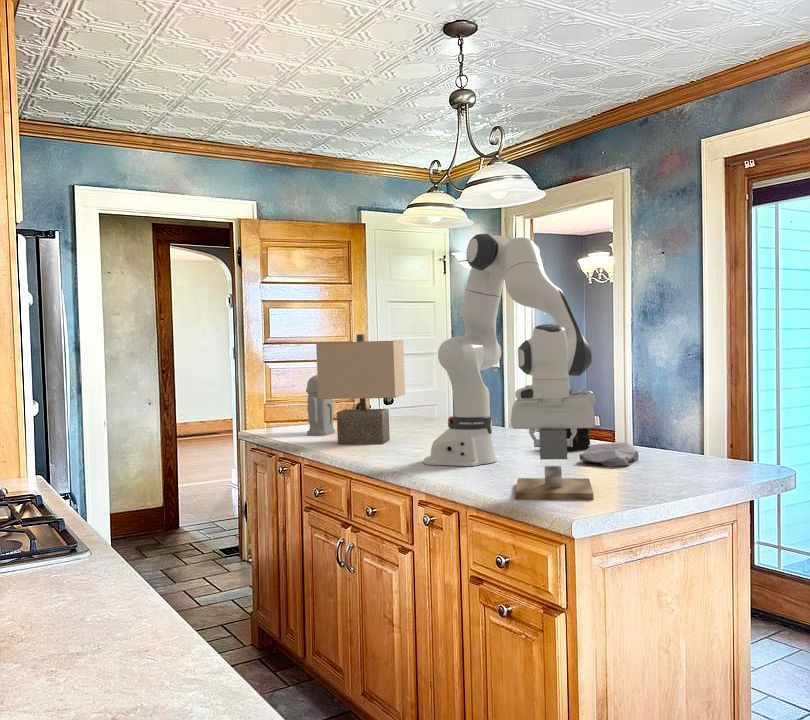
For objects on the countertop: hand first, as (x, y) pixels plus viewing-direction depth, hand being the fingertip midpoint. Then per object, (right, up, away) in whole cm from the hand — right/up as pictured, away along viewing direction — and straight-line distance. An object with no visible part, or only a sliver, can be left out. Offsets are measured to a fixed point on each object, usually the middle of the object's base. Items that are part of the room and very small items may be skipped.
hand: (553, 446), depth 182 cm
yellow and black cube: (+19, -9, +67) cm, 70 cm away
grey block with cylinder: (0, -3, +1) cm, 3 cm away
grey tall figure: (-72, -10, +129) cm, 148 cm away
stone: (+25, -10, +40) cm, 48 cm away
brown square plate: (0, -11, 0) cm, 11 cm away
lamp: (-52, -10, +100) cm, 113 cm away
